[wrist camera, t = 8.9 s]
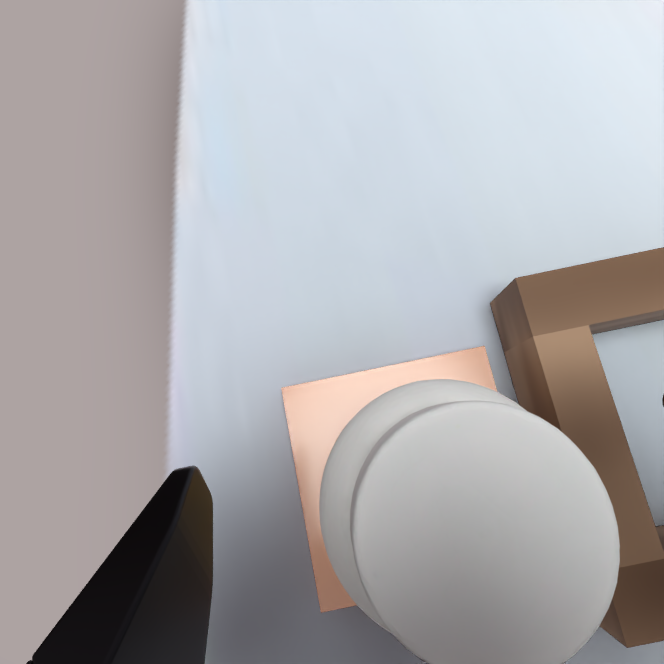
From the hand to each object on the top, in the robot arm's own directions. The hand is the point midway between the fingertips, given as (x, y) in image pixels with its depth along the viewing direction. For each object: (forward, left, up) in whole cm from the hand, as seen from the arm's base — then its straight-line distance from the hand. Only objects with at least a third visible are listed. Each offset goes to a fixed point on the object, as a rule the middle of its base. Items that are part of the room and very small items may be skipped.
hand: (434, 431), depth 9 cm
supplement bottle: (-2, 0, -8) cm, 8 cm away
